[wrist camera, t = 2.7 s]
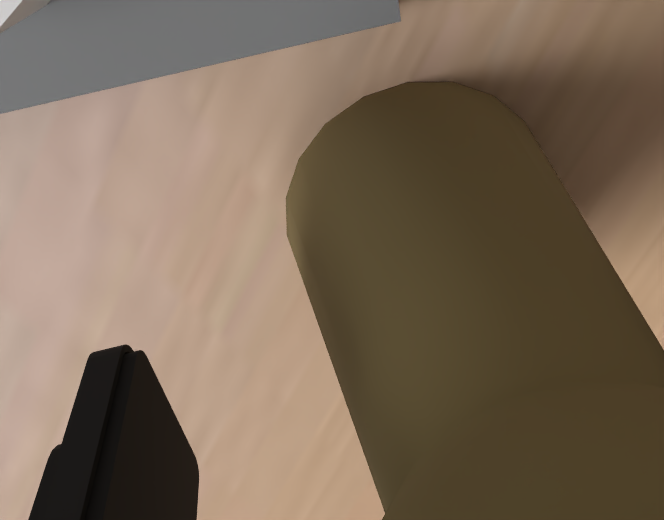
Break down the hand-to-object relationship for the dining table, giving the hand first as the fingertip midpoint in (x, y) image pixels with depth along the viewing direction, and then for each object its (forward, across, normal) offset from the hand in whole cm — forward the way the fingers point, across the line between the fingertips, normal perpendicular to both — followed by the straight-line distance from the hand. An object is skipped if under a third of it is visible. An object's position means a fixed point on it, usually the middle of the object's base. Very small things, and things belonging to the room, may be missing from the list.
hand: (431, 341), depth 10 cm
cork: (+5, -1, 0) cm, 5 cm away
